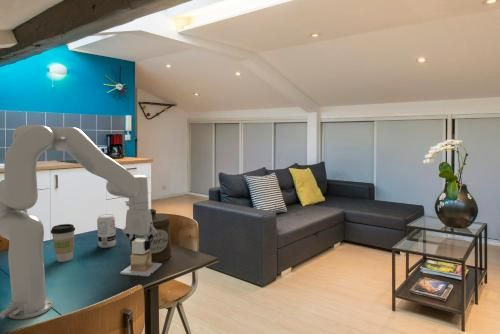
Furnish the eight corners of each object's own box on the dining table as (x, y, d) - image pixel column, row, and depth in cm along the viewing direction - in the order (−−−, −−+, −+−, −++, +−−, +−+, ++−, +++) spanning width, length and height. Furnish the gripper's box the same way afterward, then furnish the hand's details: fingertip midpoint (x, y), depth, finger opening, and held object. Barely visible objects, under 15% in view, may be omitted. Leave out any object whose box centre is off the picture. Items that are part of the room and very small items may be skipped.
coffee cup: (47, 260, 164) (45, 227, 163) (67, 254, 173) (65, 222, 171) (62, 264, 160) (59, 230, 158) (81, 257, 168) (79, 225, 167)
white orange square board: (148, 276, 146) (148, 274, 146) (120, 274, 149) (120, 271, 149) (161, 265, 158) (161, 263, 158) (135, 263, 160) (135, 261, 160)
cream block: (143, 254, 150) (143, 242, 149) (132, 253, 151) (131, 241, 150) (149, 250, 155) (148, 238, 154) (138, 249, 155) (137, 237, 155)
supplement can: (98, 244, 187) (96, 215, 185) (115, 242, 190) (113, 213, 189) (99, 249, 180) (97, 218, 178) (117, 246, 183) (115, 216, 181)
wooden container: (135, 264, 160) (133, 213, 157) (139, 252, 174) (136, 206, 172) (171, 261, 162) (169, 212, 160) (171, 250, 177) (169, 204, 175)
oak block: (144, 270, 150) (143, 256, 149) (131, 269, 151) (130, 255, 150) (151, 265, 155) (151, 251, 155) (138, 264, 157) (137, 250, 156)
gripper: (114, 207, 148) (116, 251, 150) (154, 208, 145) (155, 253, 147) (124, 203, 156) (126, 245, 158) (162, 204, 152) (164, 247, 154)
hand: (140, 248), depth 152 cm, fingers open, 5 cm apart
